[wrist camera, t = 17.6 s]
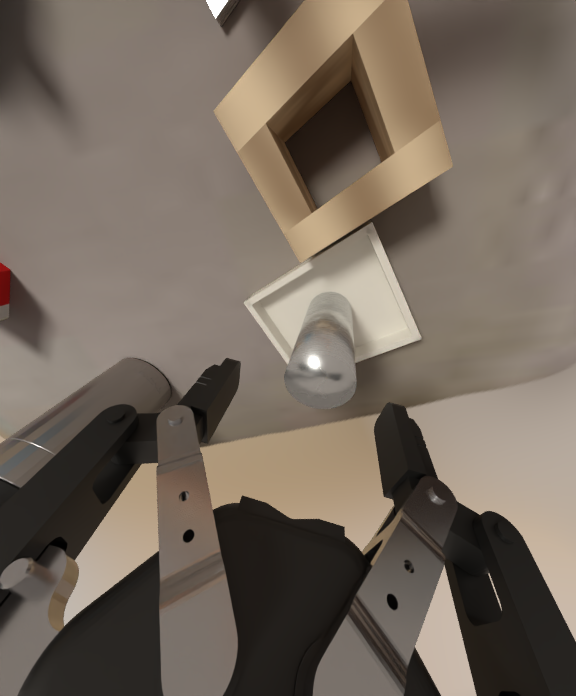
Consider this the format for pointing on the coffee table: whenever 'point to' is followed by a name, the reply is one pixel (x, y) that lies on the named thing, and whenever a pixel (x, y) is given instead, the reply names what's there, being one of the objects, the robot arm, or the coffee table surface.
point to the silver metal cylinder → (324, 354)
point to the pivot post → (222, 9)
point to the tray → (348, 280)
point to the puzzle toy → (4, 291)
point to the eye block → (319, 88)
